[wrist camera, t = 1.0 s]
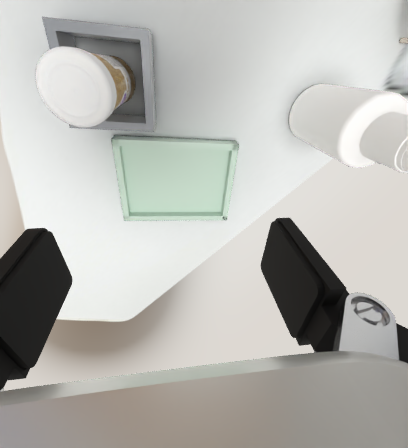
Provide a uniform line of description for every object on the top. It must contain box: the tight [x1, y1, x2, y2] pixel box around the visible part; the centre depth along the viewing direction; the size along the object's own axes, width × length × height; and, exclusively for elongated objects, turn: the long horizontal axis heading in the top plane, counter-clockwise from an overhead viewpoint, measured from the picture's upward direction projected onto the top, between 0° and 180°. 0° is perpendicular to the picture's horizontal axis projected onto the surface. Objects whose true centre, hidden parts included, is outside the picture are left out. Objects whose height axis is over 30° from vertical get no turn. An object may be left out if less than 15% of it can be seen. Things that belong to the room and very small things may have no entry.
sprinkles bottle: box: [35, 46, 135, 127], centre depth 20 cm, size 5×5×13 cm
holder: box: [42, 17, 156, 132], centre depth 23 cm, size 9×9×4 cm
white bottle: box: [289, 84, 408, 173], centre depth 23 cm, size 7×7×18 cm
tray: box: [111, 135, 239, 221], centre depth 32 cm, size 12×16×2 cm
